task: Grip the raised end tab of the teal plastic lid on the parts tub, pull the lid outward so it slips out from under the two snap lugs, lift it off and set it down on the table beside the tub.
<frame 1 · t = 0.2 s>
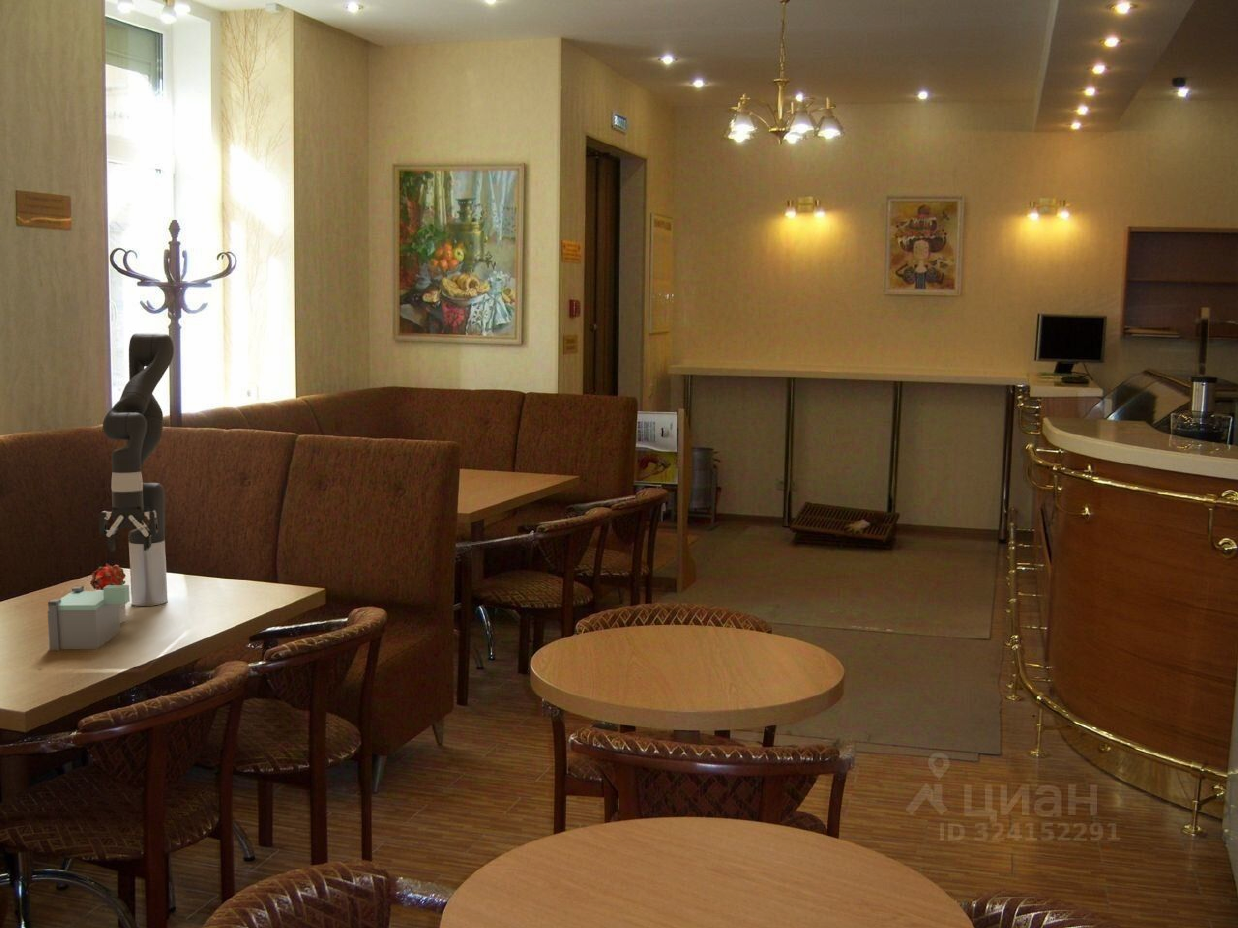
hand: (129, 550, 314), 18 cm above the table, tool pointing down, fingers open, 8 cm apart
dragon fruit: (108, 592, 343), on the table
medicine box: (107, 625, 308), on the table
snap lid: (83, 602, 290), point 10 cm above the table, touching parts tub
parts tub: (86, 643, 291), on the table
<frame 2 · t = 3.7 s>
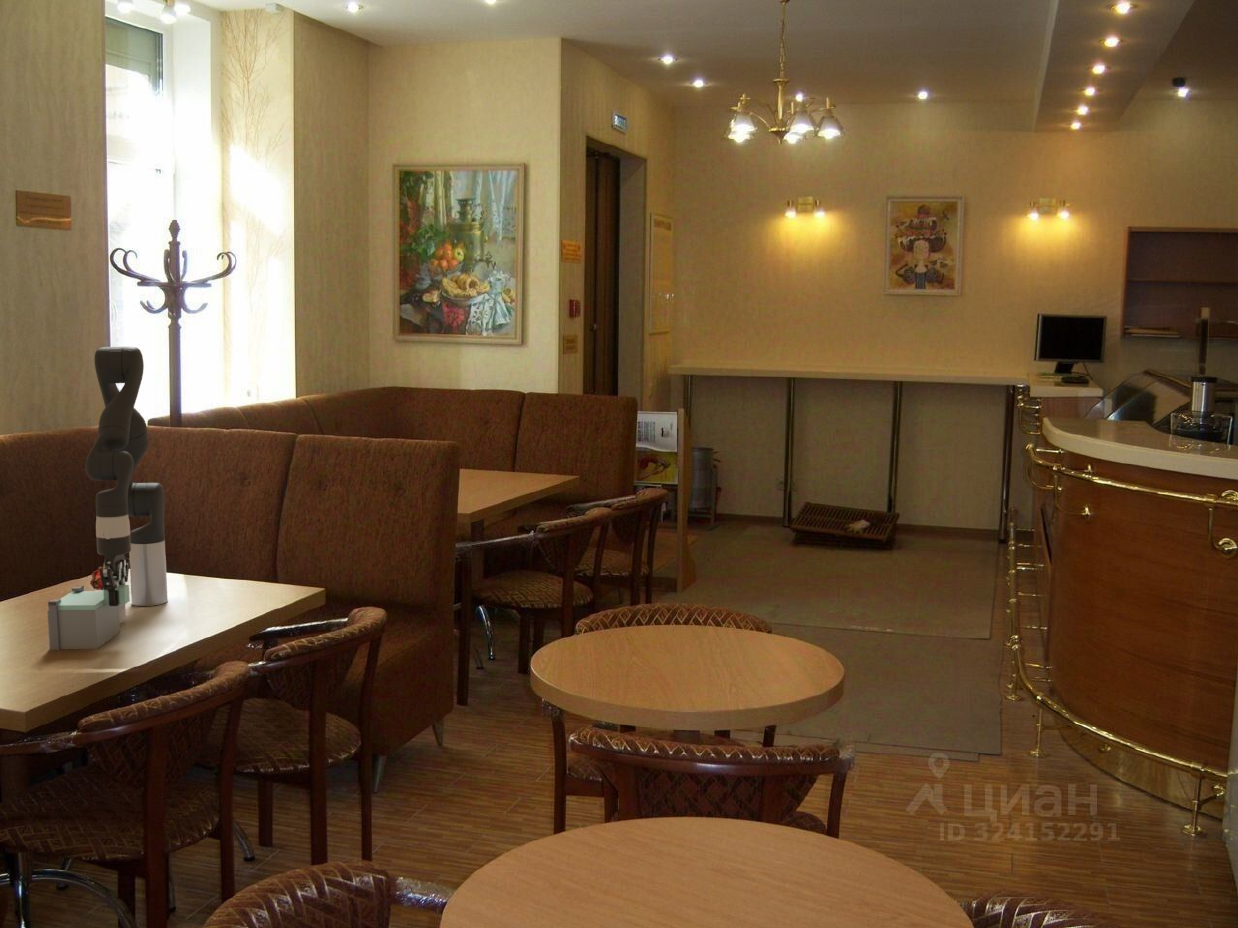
hand: (116, 603, 290), 10 cm above the table, tool pointing down, fingers closed on snap lid, 3 cm apart
snap lid: (83, 602, 290), point 10 cm above the table, touching gripper, parts tub
everything else where it was.
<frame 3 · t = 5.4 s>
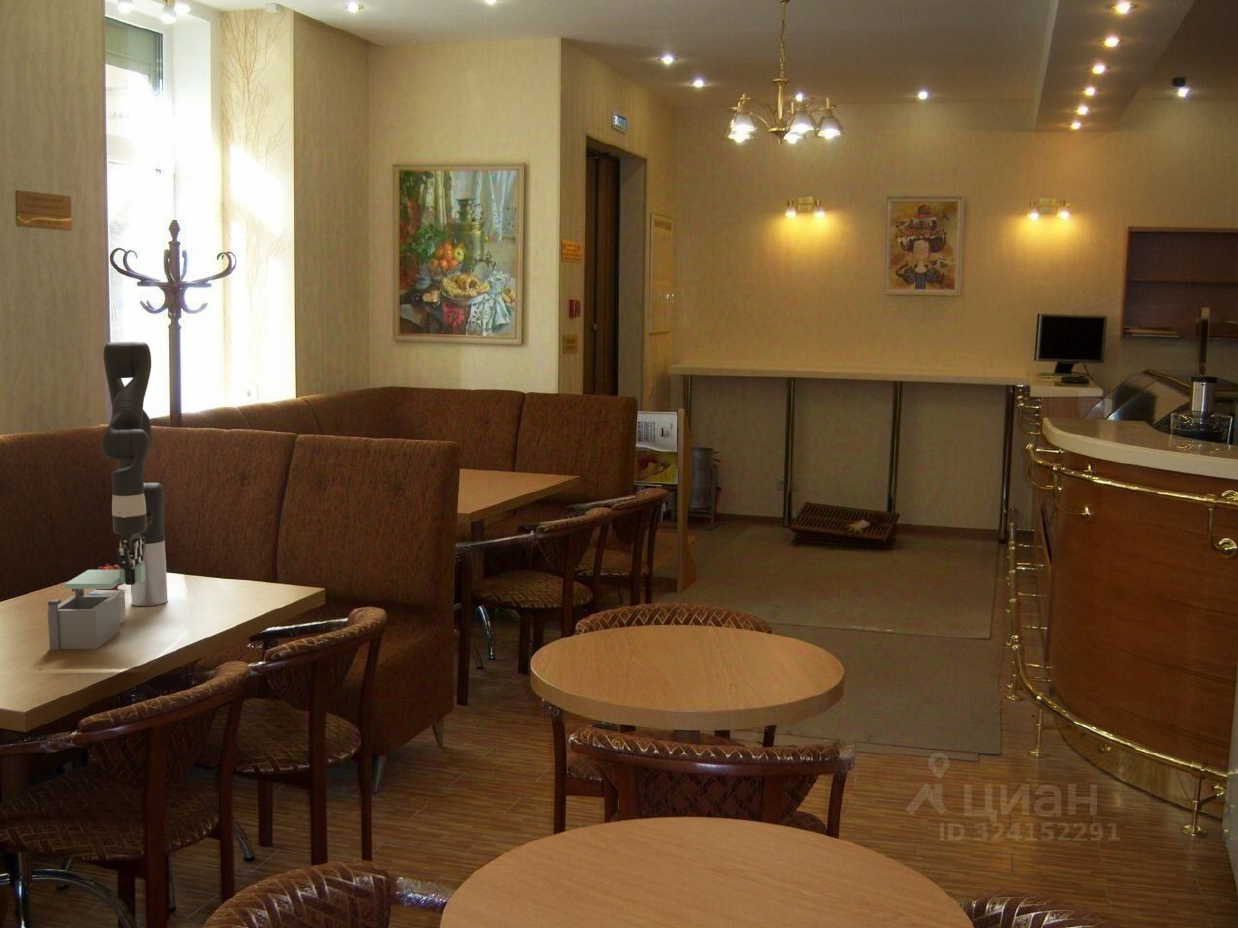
hand: (132, 582, 290), 15 cm above the table, tool pointing down, fingers closed on snap lid, 3 cm apart
snap lid: (99, 581, 289), point 15 cm above the table, touching gripper
everything else where it was.
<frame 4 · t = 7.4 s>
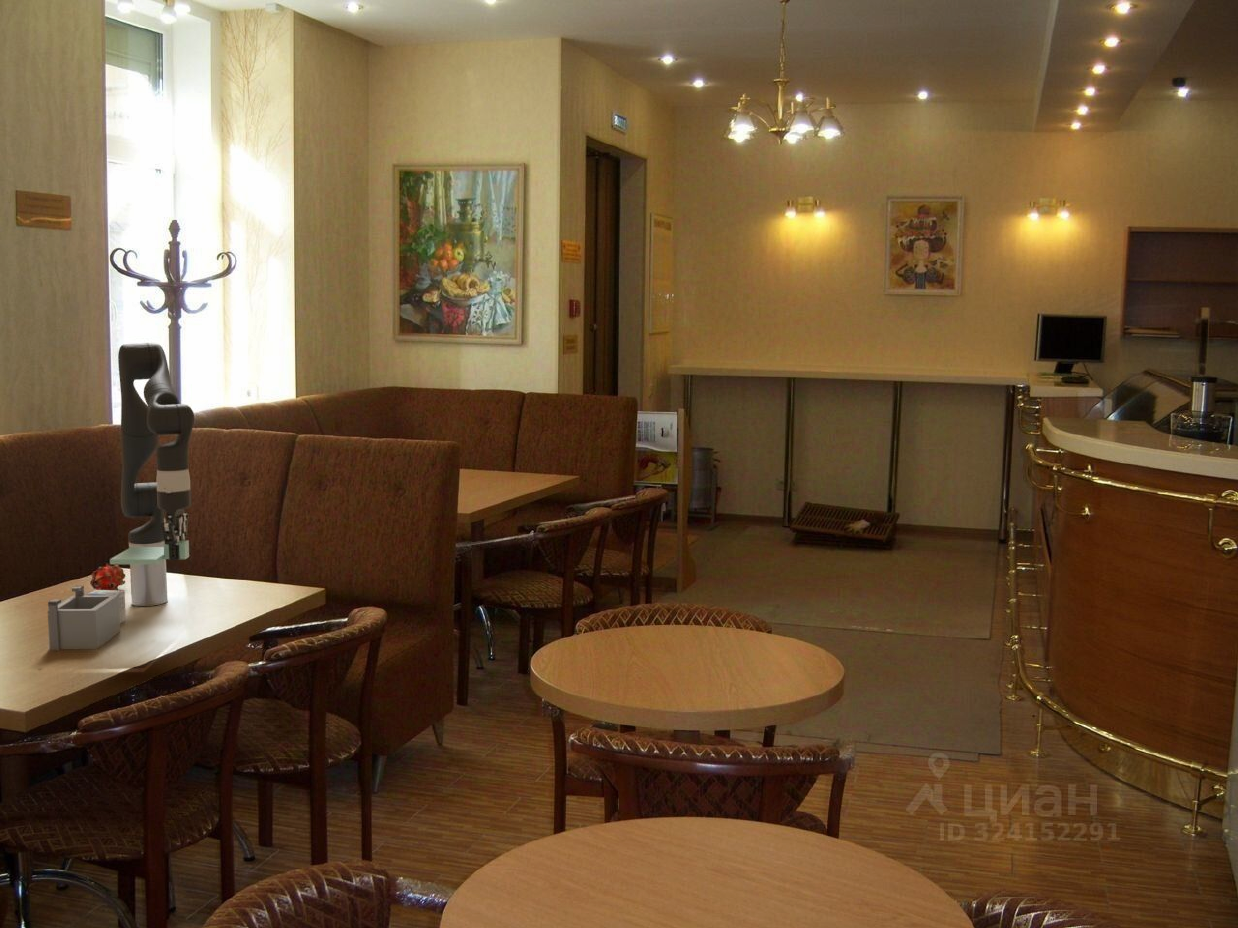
hand: (176, 558, 289), 21 cm above the table, tool pointing down, fingers closed on snap lid, 3 cm apart
snap lid: (143, 557, 288), point 21 cm above the table, touching gripper
everything else where it was.
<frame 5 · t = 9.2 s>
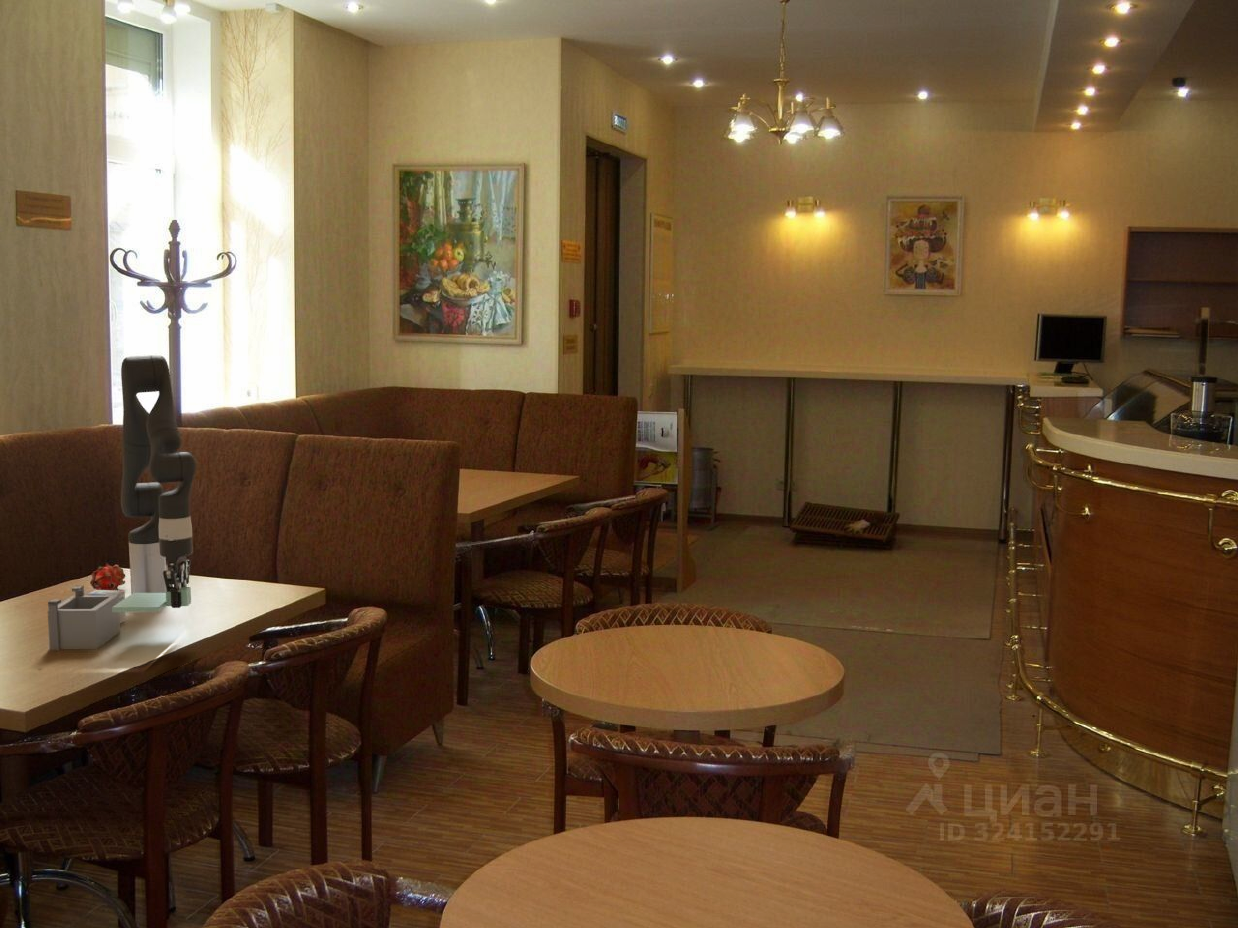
hand: (178, 605, 290), 9 cm above the table, tool pointing down, fingers closed on snap lid, 3 cm apart
snap lid: (145, 604, 290), point 10 cm above the table, touching gripper
everything else where it was.
when the fingers open (2 cm above the table, at t = 11.1 s): snap lid drops 2 cm, on the table.
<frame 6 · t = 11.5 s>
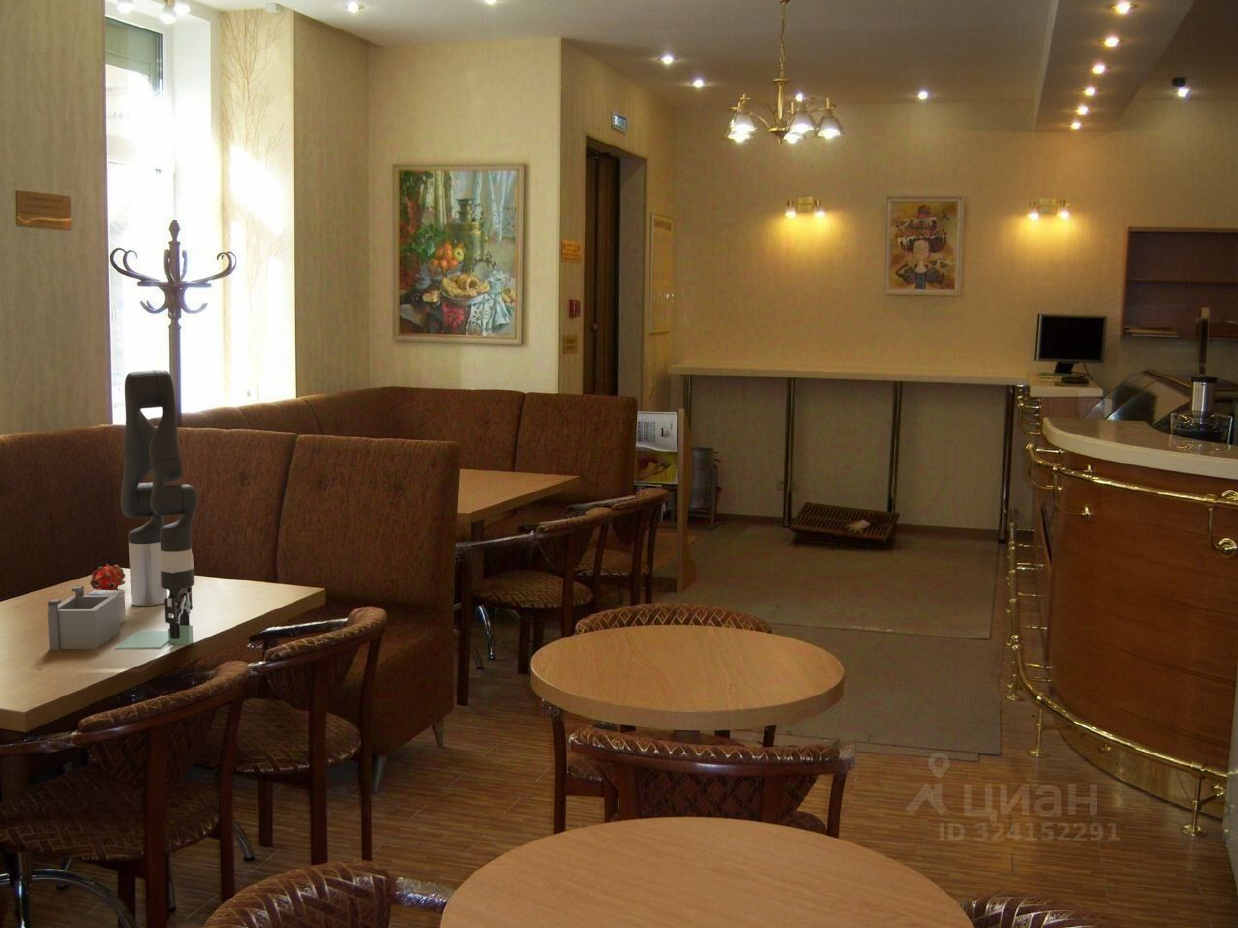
hand: (180, 633, 291), 2 cm above the table, tool pointing down, fingers open, 7 cm apart
snap lid: (148, 643, 291), on the table
everything else where it was.
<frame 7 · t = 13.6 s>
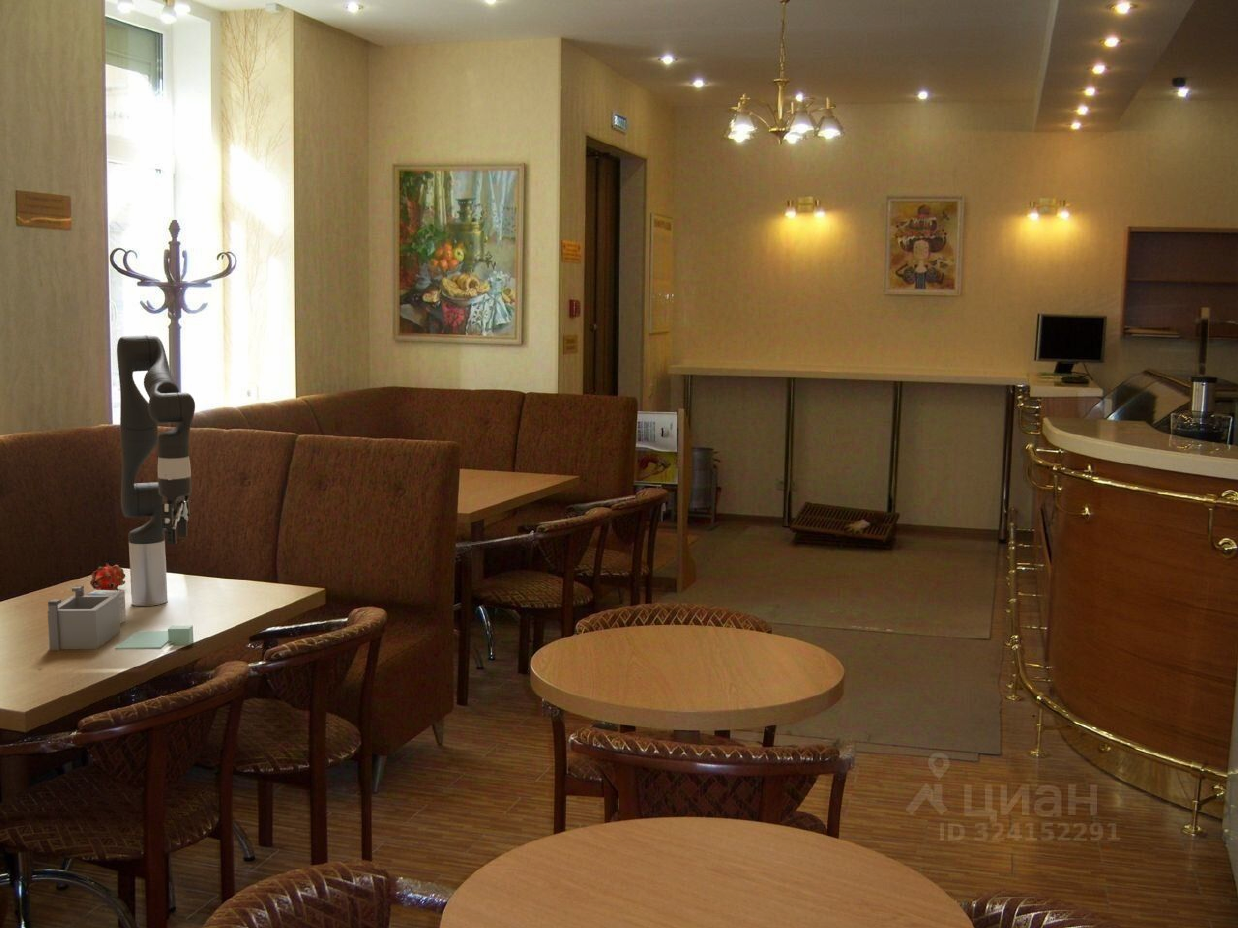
hand: (177, 540, 294), 24 cm above the table, tool pointing down, fingers open, 8 cm apart
nothing on the table moved.
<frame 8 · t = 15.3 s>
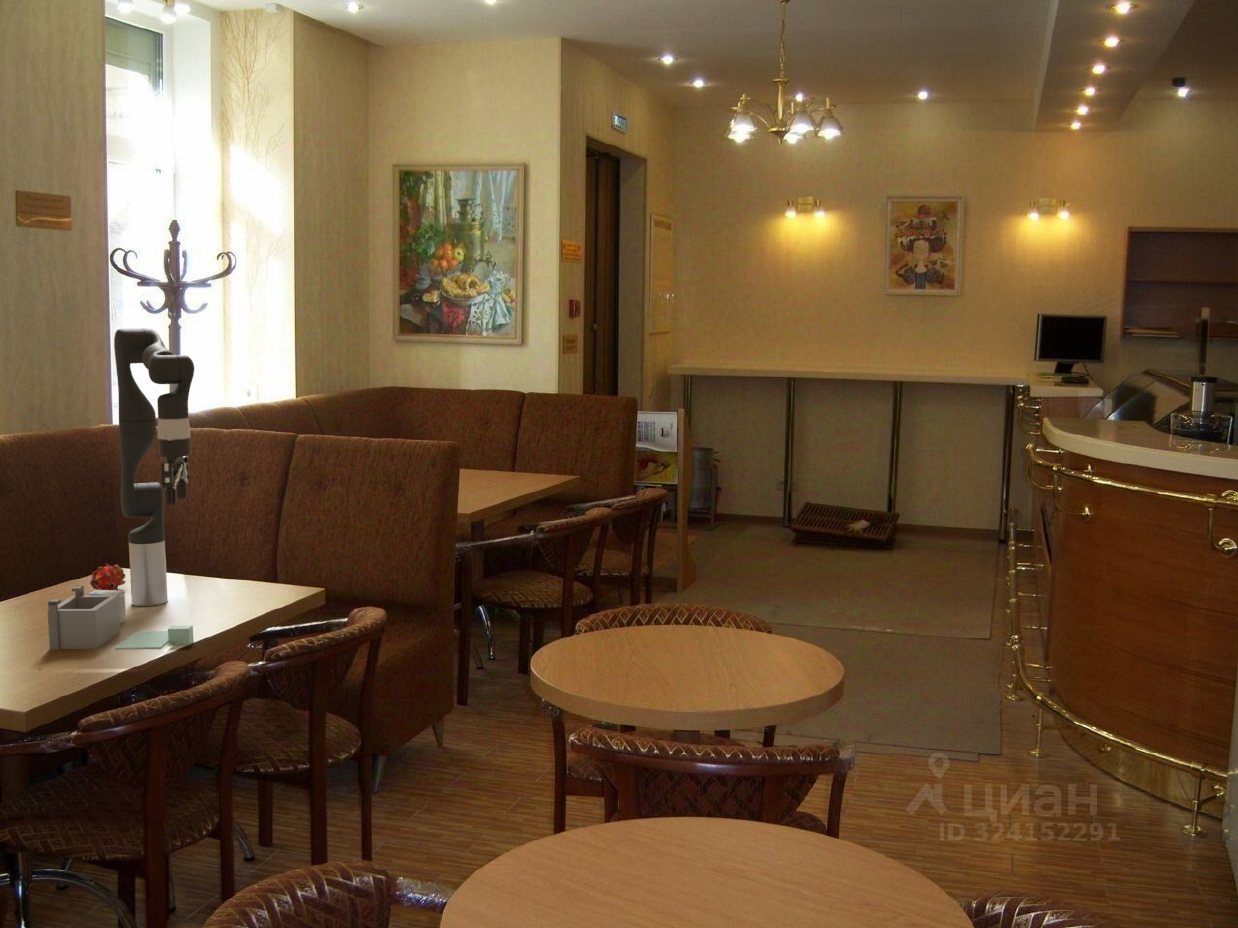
hand: (177, 501, 298), 33 cm above the table, tool pointing down, fingers open, 8 cm apart
nothing on the table moved.
at the end: snap lid inside the target area (0.4 cm from its centre), on the table; snap lid touching table; the gripper is holding nothing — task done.
